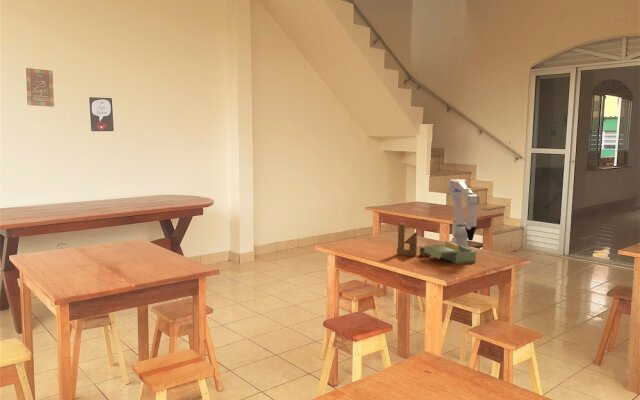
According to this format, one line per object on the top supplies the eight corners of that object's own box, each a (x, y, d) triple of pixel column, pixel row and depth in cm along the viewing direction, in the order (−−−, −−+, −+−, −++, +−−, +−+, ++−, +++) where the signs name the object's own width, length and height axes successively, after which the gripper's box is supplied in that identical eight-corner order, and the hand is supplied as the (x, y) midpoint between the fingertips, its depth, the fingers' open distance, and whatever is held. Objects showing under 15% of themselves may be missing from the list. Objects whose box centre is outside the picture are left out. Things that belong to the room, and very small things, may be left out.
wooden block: (415, 256, 301) (416, 225, 298) (396, 255, 305) (397, 224, 302) (416, 255, 304) (417, 224, 302) (398, 253, 308) (398, 223, 306)
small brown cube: (419, 255, 305) (420, 246, 304) (427, 254, 306) (427, 246, 305) (423, 256, 301) (423, 248, 300) (431, 256, 302) (431, 247, 302)
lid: (424, 252, 297) (424, 241, 296) (445, 250, 301) (445, 240, 300) (438, 258, 282) (439, 247, 281) (460, 257, 286) (461, 245, 285)
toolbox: (440, 256, 301) (441, 246, 300) (459, 255, 304) (459, 245, 304) (456, 263, 286) (456, 252, 285) (475, 262, 289) (475, 251, 288)
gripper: (466, 214, 303) (465, 237, 305) (461, 217, 290) (460, 241, 292) (479, 214, 300) (478, 238, 302) (474, 218, 287) (474, 242, 289)
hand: (470, 240), depth 296 cm, fingers closed
